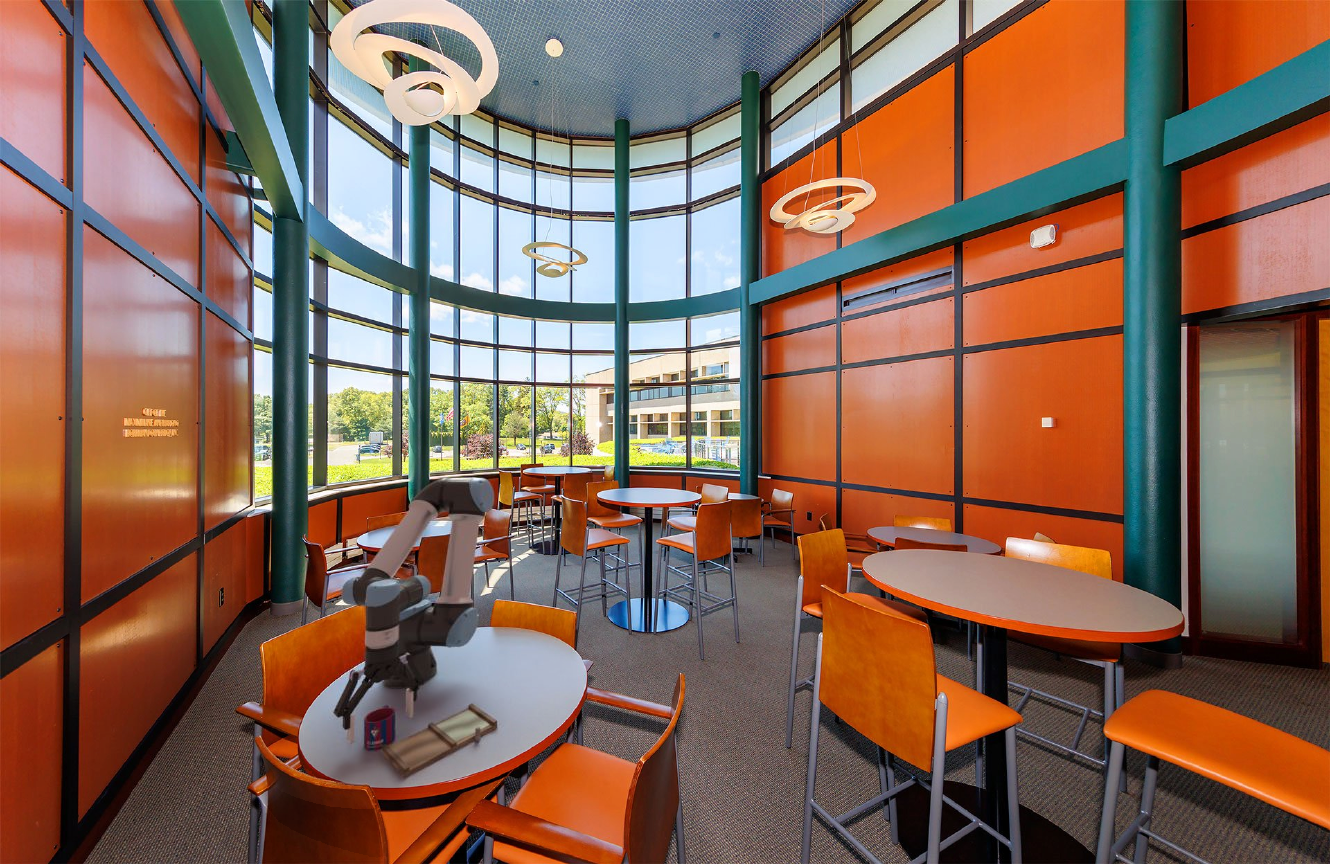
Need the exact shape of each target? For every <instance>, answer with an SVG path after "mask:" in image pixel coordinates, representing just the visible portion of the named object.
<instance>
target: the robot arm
mask: <svg viewBox="0 0 1330 864" xmlns="http://www.w3.org/2000/svg"><path fill="white" fill-rule="evenodd" d="M494 503H495V492H494V488H493V486H492V484H491V482H490V481H489V480H488V479H486V478H483V477H474V476H472V477H443V478H439V479H436V480H435V481H433V482H431V483H429V484H428V485H426V486H425V487H424V488H423V489H421V490H420V491H419V492H418V493H417V494H416V495H415V496H414V498H412V500H411V501H410V503H409V505H408V509H409V510H408V511H407V513H405V515H404V517H403V518H402V519H401V521H400V522H399V524H397V526H396V527H395V529H394V530H393V531H392V533H391V534H390V536H389V537H388V538H387V540H386V541H385V542H384V544H383V545H382V547H381V548H380V550H379V551H378V552H377V553H376V555H375V556H374V557H373V559H372V560H371V562H370V563H369V564H368V566H367V567H366V569H365V570H364V572H363V573H362V574H361V576H356V577H355V576H354V577H351V578H349V579H347V580H346V581H345V582H344V584H343V586H342V588H341V591H340V592H341V593H340V594H341V600H342V601H343V603H345V604H346V605H349V606H355V607H364V606H365V636H364V645H365V646H366V647H365V649H364V666H363V668H362V669H357V670H355V669H352V670H351V671H350V672H349V677H348V681H347V683H346V685H345V688H344V689H343V691H342V693H341V695H340V697H339V700H338V701H337V703H336V706H335V708H334V709H333V714H334V716H336V718H338V719H339V718H341V717H342V727H343V729H344V730H345V731H346V740H347V742H349V743H350V744H353V743H355V731H356V730H355V727H356V726H355V723H356V722H355V721H356V720H355V718H356V714H354V711H355V709H356V708H357V707H358V705H359V703H360V702H361V701H362V700H363V698H364V697H365V695H366V694H367V693H368V691H369V690H370V689H371V688H373V685H374V684H379V683H381V682H383V685H384V686H385V687H387V688H390V689H404V688H406V689H405V715H406V717H408V718H413V717H414V703H415V702H416V701H417V700H418V699H417V698H418V697H417V696H418V694H417V693H418V691H419V690H420V686H423V685H425V682H427V681H428V680H430V679H432V678H433V677H435V675H436V673H437V672H438V663H437V659H436V658H435V655H434V653H433V650H432V647H443V648H444V647H445V648H450V649H451V648H460V647H464V646H466V645H467V644H469V642H470V641H471V639H472V638H473V637H474V635H475V633H476V630H477V629H478V625H479V617H480V615H479V611H478V609H476V608H475V607H473V606H474V600H473V599H472V598H471V596H470V595H471V594H470V593H471V588H472V587H471V586H472V578H473V573H474V572H473V571H474V563H475V558H476V557H475V556H476V552H477V551H476V550H477V542H478V536H479V528H480V523H481V522H482V521H483V520H485V518H486V513H488V512H490V511H491V510H492V509H493V507H494V505H495V504H494ZM444 512H448V515H447V516H448V517H449V518H450V520H451V528H450V535H449V539H448V540H449V541H448V545H447V546H448V547H447V553H446V560H445V566H444V573H443V580H442V586H441V591H440V592H441V593H440V596H439V597H438V598H436V600H435V601H434V604H433V606H432V603H431V600H430V599H427V598H428V597H429V595H430V594H431V589H432V585H431V581H430V580H429V579H428V578H427V577H426V576H424V575H422V574H421V575H420V574H417V575H412V576H410V577H408V578H397V577H396V578H394V576H395V575H396V574H397V572H398V570H399V569H400V568H401V566H402V564H403V563H404V562H405V560H406V559H407V557H408V555H409V554H410V553H411V551H412V549H413V548H414V547H415V545H416V544H417V542H418V541H419V539H420V537H422V534H424V532H425V530H426V529H427V527H429V524H430V523H431V521H434V520H436V519H437V518H438V517H439V514H441V513H444ZM363 675H364V676H365V677H364V678H363V680H362V681H361V684H360V685H359V687H358V688H357V685H358V682H359V681H360V680H361V678H362V676H363ZM356 688H357V689H356ZM355 689H356V691H355ZM354 691H355V692H354ZM353 693H354V694H353Z"/></svg>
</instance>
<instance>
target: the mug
mask: <svg viewBox="0 0 1330 864" xmlns="http://www.w3.org/2000/svg"><path fill="white" fill-rule="evenodd" d="M363 719H364V721H363V722H364V723H363V724H364V725H363V728H364V729H363V730H364V731H363V734H364V735H363V740H364V741H363V742H364V743H363V744H364V745H363V747H364V749H365V750H366V751H371V752H372V751H378V750H382V746H383V745H385V744H387V745H388V746H390V745H392V743H393V742H394V741H395V739H396V709H395V708H393V707H390V706H389V705H388V704H385V705H384V706H382V707H381V708H378V709H375V710H373V711H370V712H369V713H368V714H366V716H365V717H364V718H363Z"/></svg>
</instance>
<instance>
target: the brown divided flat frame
mask: <svg viewBox="0 0 1330 864" xmlns="http://www.w3.org/2000/svg"><path fill="white" fill-rule="evenodd" d="M427 724H428V725H427V727H425V728H423V729H421V730H420V731H419V730H418V731H417V732H415V733H413V734H411V735H409V736H407V737H405V738H403V739H401V740H398V741H396V742H394V743H393V744H392V743H391V744H390V745H387V744H385V745H383V746H382V749H381V754H382V756H384V758H386V759H387V761H389V763H390V764H391V765H392V766H393V767H394V768H395V769H396V770H397V771H398V772H399V774H401V775H402V776H403V778H407V777H409V776H410V775H412V774H414V773H416V772H417V771H419V770H421V769H423V768H425V767H427V766H429V765H430V764H433V763H434V762H436V761H438V760H440V759H442V758H444V757H445V756H447V755H449V754H450V753H451V754H452V753H453V752H454V751H457V750H458V749H460V748H462V747H464V746H466V745H467V744H468V745H469V743H471V742H473V741H475V743H479V742H480V741H481V737H483V736H484V735H486V734H488V733H490V732H492V731H493V730H495V729H497V728H498V720H497V719H495V718H494V717H492V716H491V715H490V714H488V713H487V712H485V711H484V710H482V709H481V708H480V707H478V706H477V705H475V704H474V703H469V704H468V706H467V708H465V709H463V710H461V711H459V712H456V713H454V714H453V715H451V716H448V717H447V718H444V719H442V720H440V721H438V722H436V723H433V722H430V723H427Z"/></svg>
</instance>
